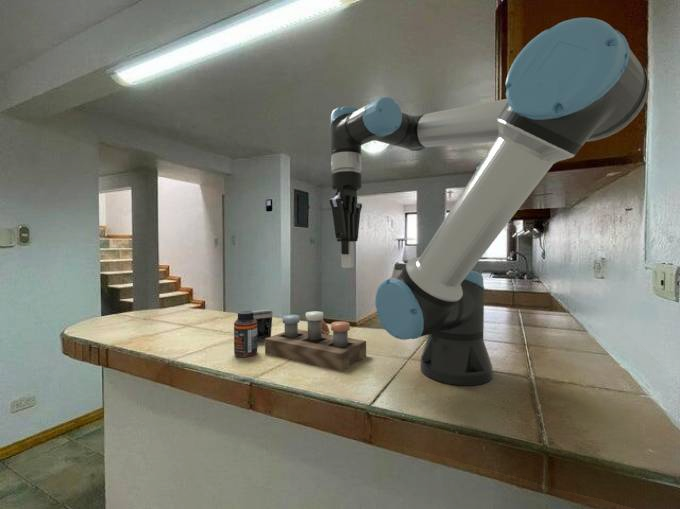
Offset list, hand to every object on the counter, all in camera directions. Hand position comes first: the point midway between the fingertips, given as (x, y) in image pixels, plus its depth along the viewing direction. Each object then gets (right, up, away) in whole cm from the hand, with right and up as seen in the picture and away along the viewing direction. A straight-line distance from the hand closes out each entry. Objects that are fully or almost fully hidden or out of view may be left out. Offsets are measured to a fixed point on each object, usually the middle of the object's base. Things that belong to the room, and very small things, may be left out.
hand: (347, 267), depth 82 cm
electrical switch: (-27, -23, +18) cm, 40 cm away
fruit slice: (-9, -23, +20) cm, 32 cm away
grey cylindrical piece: (-15, -20, +8) cm, 27 cm away
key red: (-2, -20, -1) cm, 20 cm away
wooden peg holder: (-8, -23, +4) cm, 25 cm away
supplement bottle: (-27, -23, +5) cm, 36 cm away
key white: (-9, -19, +4) cm, 21 cm away
